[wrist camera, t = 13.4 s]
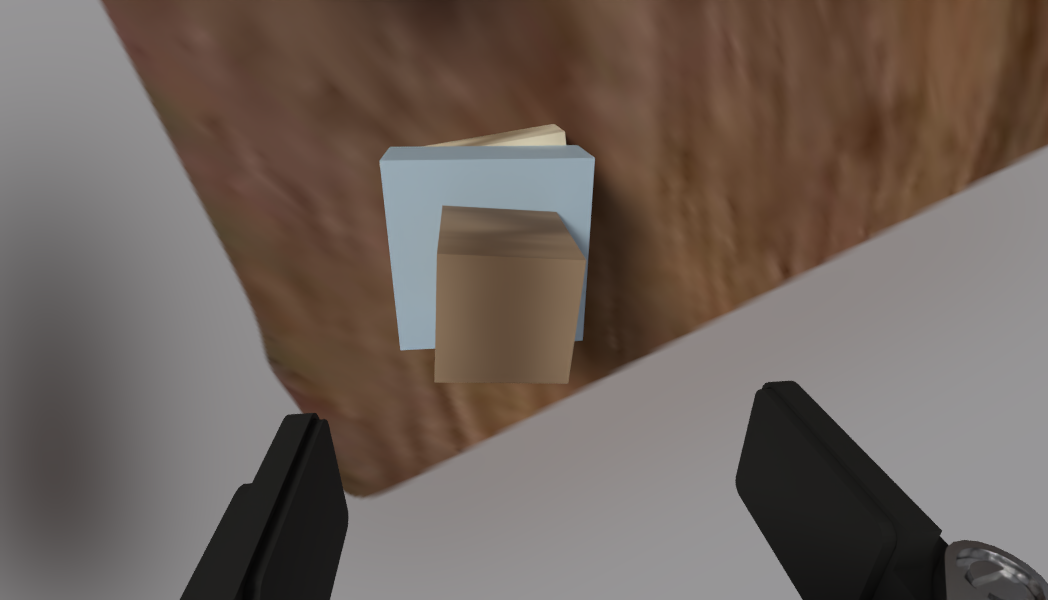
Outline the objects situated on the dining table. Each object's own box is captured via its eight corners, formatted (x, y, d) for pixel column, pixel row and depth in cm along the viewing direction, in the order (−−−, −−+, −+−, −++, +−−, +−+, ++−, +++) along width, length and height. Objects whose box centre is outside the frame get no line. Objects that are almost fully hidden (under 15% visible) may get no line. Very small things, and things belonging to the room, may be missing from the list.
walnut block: (556, 211, 23) (586, 260, 17) (544, 312, 25) (567, 383, 19) (442, 205, 22) (436, 253, 17) (440, 309, 24) (434, 382, 19)
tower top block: (577, 145, 25) (594, 158, 22) (568, 309, 29) (582, 340, 26) (389, 146, 24) (379, 160, 21) (406, 317, 28) (400, 350, 25)
